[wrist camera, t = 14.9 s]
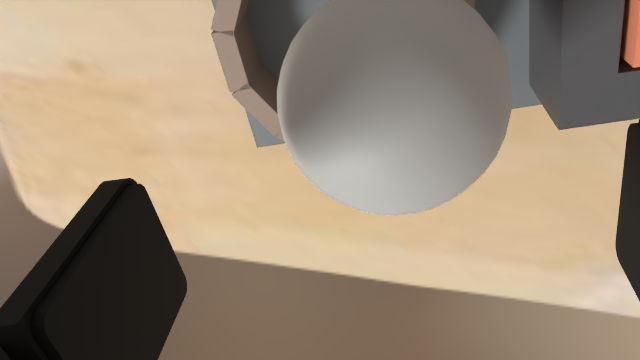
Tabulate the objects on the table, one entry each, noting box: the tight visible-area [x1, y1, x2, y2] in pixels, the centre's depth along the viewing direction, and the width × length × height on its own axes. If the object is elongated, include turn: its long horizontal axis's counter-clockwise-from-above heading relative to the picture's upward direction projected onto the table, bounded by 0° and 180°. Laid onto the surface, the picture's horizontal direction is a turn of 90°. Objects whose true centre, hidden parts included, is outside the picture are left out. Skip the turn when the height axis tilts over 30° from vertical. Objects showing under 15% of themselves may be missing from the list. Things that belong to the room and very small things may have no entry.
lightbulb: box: [277, 0, 512, 215], centre depth 17 cm, size 6×6×11 cm
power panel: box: [211, 0, 640, 148], centre depth 19 cm, size 21×10×5 cm, turn 101°
